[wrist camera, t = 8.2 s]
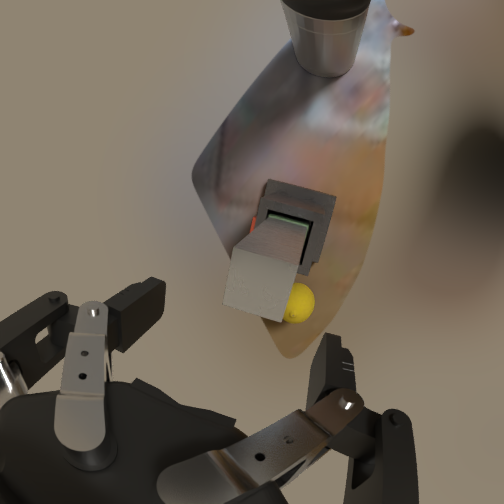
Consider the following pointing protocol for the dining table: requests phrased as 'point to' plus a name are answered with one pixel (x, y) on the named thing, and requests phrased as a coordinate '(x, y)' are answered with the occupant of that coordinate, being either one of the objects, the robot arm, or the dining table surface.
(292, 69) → the dining table surface
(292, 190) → the stand base
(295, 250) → the column
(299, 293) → the lemon
